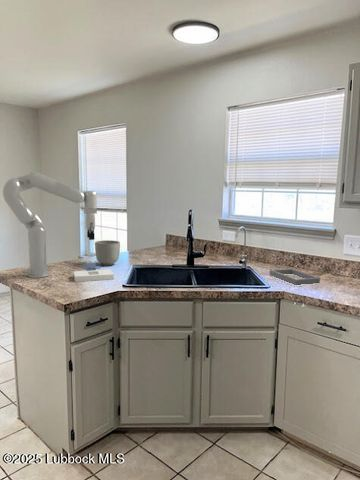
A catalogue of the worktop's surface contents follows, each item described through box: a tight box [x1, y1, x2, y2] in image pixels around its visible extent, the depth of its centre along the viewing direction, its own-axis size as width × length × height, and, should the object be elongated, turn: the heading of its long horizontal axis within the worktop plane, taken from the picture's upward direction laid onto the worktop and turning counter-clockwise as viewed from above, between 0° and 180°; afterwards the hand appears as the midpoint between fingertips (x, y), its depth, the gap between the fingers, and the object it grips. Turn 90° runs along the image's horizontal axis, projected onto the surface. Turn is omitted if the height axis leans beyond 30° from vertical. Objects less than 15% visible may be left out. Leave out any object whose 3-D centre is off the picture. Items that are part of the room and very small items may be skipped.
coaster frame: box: [269, 268, 321, 285], centre depth 225 cm, size 17×26×4 cm, turn 20°
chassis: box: [73, 269, 115, 283], centre depth 218 cm, size 22×13×3 cm, turn 110°
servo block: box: [81, 260, 101, 271], centre depth 230 cm, size 11×4×7 cm, turn 110°
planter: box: [94, 239, 121, 267], centre depth 254 cm, size 17×17×16 cm
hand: (90, 238), depth 227 cm, fingers open, 9 cm apart
